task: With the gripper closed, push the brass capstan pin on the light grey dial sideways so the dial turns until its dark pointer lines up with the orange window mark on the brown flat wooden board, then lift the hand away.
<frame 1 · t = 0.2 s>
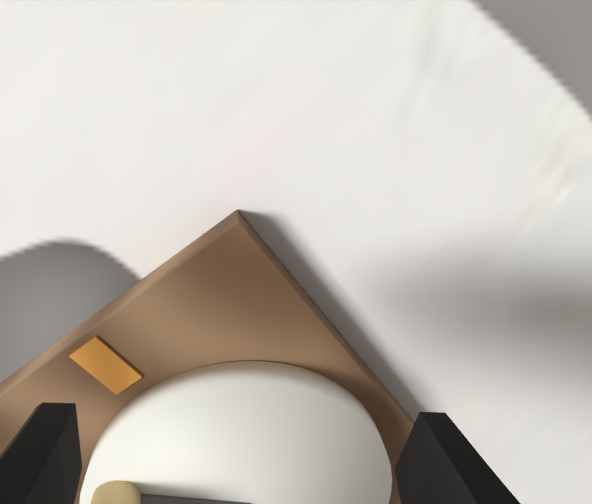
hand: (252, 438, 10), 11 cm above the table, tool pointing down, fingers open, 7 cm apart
brown flat wooden board: (240, 454, 25), on the table
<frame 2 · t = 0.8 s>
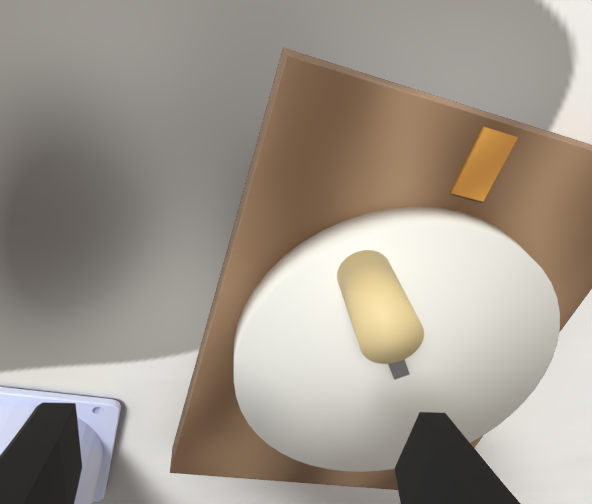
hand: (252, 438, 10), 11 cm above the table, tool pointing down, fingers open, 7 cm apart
brown flat wooden board: (379, 322, 23), on the table
dial: (406, 388, 20), point 4 cm above the table, hinge at 38.0°
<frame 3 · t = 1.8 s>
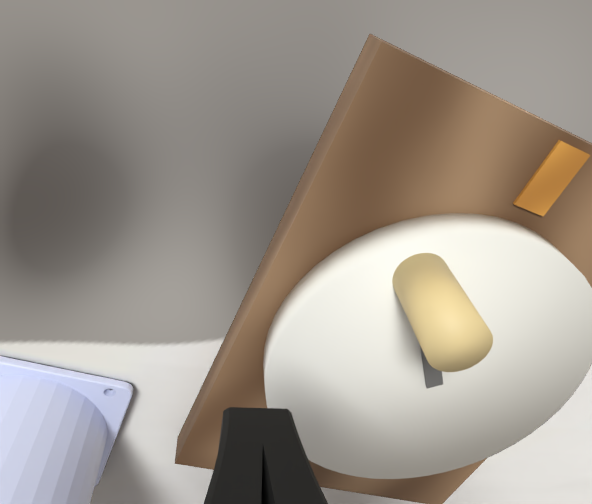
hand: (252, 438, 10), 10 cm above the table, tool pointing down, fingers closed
brown flat wooden board: (410, 328, 23), on the table
dial: (442, 398, 19), point 4 cm above the table, hinge at 38.0°
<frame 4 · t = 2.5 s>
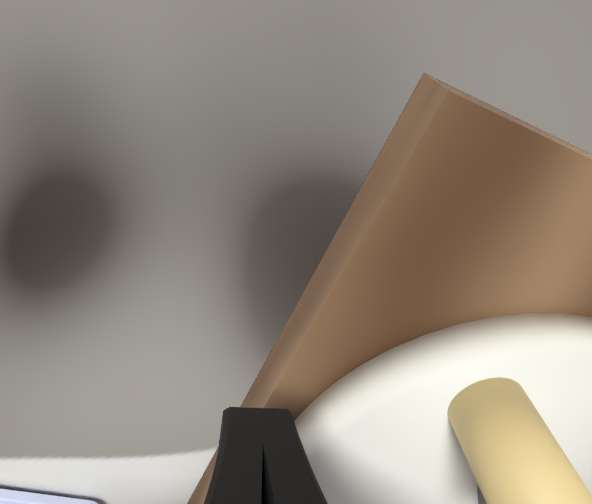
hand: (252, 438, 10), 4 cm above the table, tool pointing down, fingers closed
brown flat wooden board: (453, 431, 18), on the table
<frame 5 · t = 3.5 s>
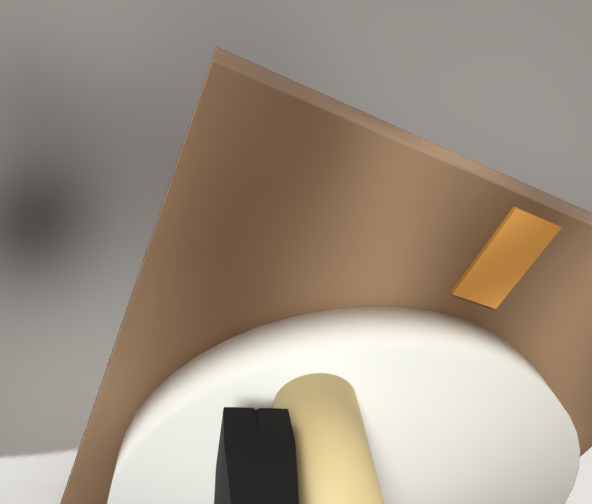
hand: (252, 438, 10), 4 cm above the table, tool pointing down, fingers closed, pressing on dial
brown flat wooden board: (332, 432, 17), on the table
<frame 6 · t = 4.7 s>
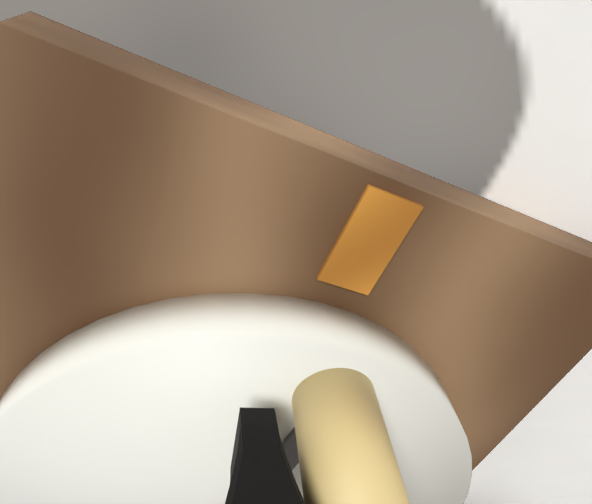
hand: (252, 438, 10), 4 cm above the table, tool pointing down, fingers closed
brown flat wooden board: (233, 427, 17), on the table
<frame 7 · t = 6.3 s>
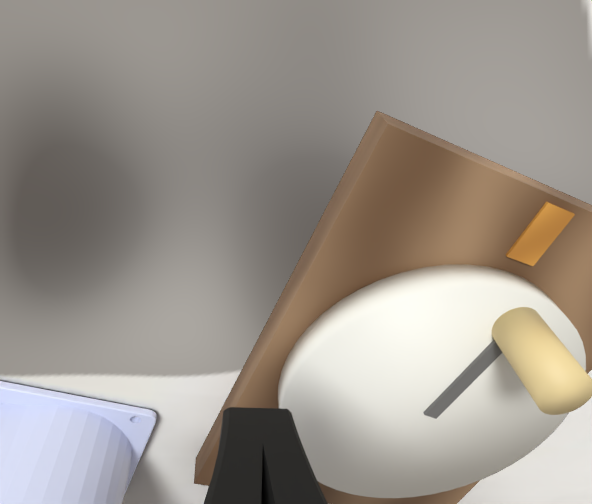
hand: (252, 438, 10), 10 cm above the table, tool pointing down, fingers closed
brown flat wooden board: (412, 360, 25), on the table
dial: (441, 429, 21), point 4 cm above the table, hinge at -5.4°
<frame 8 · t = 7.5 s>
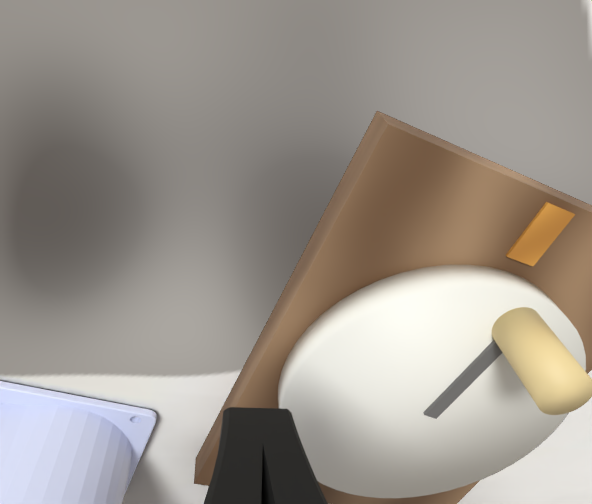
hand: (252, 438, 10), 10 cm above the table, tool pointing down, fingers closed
brown flat wooden board: (412, 360, 25), on the table
dial: (441, 429, 21), point 4 cm above the table, hinge at -5.4°
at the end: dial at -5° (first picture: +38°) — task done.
